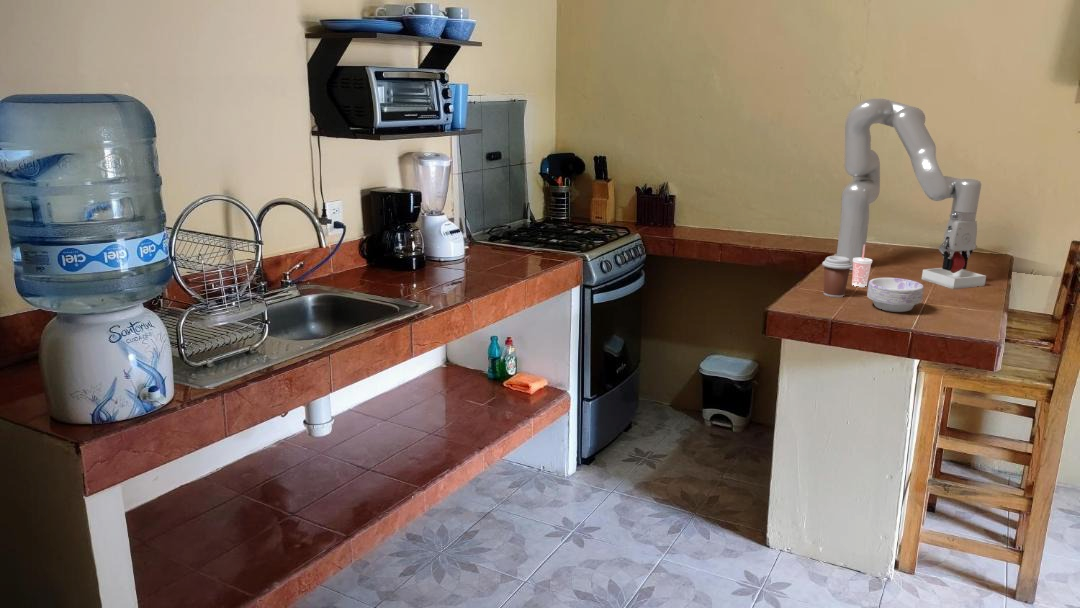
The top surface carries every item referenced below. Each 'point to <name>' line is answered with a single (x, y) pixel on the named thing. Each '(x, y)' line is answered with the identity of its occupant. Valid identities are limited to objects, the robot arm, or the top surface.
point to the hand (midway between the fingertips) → (954, 268)
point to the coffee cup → (836, 275)
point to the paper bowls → (895, 293)
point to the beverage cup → (861, 270)
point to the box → (953, 278)
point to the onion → (957, 262)
